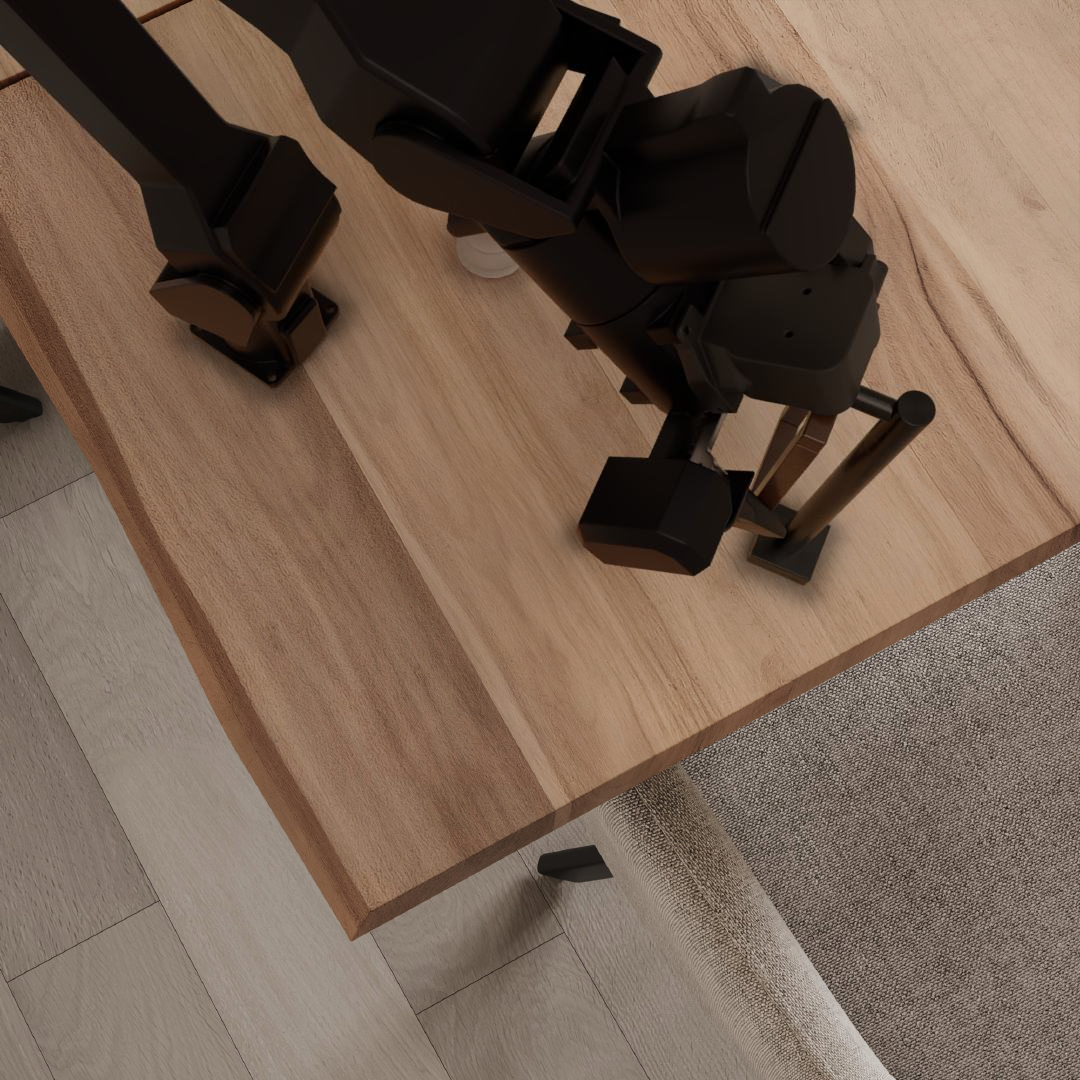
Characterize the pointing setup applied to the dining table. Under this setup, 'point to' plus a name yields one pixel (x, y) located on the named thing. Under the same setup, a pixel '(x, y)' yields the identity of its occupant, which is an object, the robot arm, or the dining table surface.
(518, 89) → the robot arm
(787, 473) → the rectangular frame
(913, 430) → the black hanging stand
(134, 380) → the dining table surface
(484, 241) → the rook chess piece
